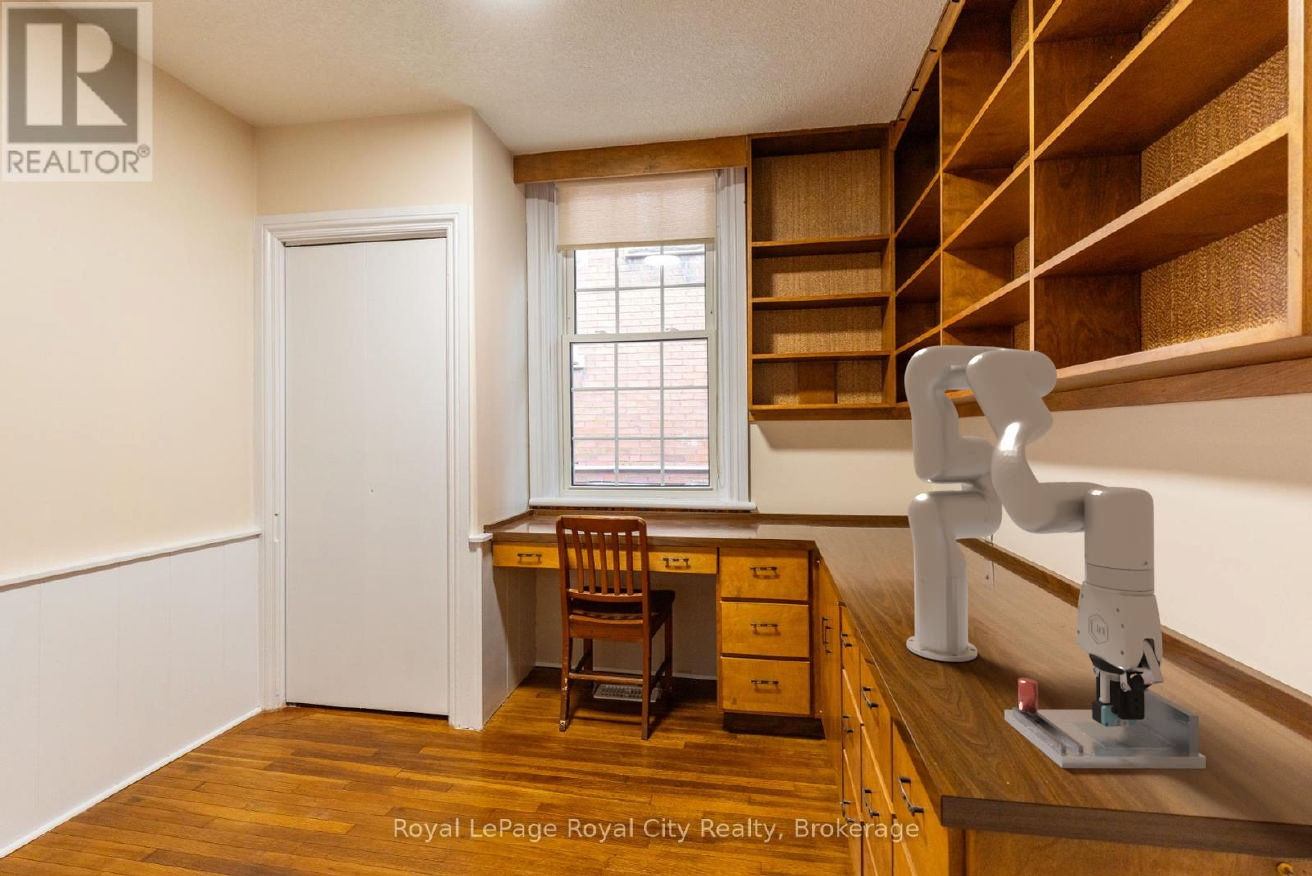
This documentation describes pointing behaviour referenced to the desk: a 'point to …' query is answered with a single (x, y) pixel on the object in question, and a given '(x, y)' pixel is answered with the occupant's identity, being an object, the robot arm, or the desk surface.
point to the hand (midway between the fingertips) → (1119, 710)
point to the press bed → (1116, 737)
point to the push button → (1108, 695)
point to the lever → (1028, 697)
